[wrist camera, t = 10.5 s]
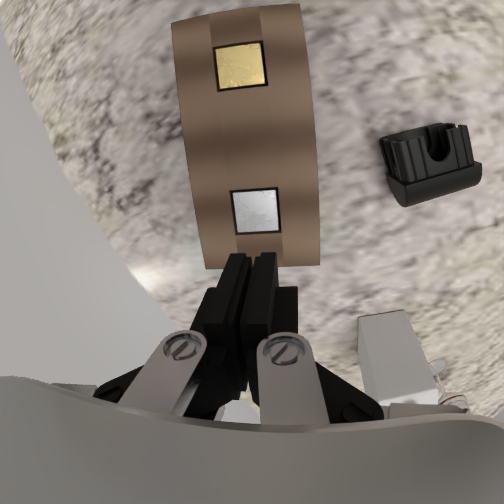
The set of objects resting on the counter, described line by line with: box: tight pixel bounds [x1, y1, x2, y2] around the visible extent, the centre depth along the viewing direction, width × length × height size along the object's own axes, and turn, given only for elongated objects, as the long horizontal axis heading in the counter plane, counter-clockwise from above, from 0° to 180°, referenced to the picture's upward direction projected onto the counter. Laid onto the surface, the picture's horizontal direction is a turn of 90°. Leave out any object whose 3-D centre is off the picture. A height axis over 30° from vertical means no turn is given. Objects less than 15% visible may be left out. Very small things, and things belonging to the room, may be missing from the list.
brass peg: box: [216, 43, 268, 91], centre depth 25 cm, size 4×4×6 cm
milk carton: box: [357, 310, 438, 406], centre depth 31 cm, size 7×7×19 cm
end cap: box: [380, 123, 482, 207], centre depth 26 cm, size 10×7×7 cm
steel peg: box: [233, 187, 280, 232], centre depth 31 cm, size 4×4×6 cm
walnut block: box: [171, 4, 320, 269], centre depth 28 cm, size 26×12×6 cm, turn 6°
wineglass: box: [428, 359, 471, 414], centre depth 37 cm, size 7×7×12 cm
